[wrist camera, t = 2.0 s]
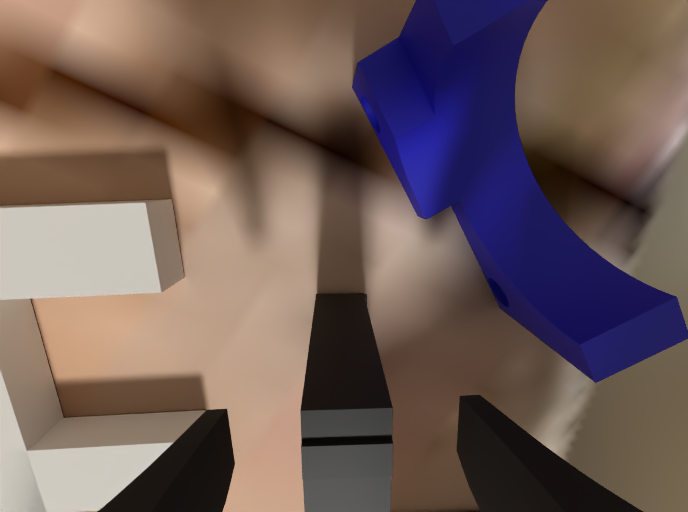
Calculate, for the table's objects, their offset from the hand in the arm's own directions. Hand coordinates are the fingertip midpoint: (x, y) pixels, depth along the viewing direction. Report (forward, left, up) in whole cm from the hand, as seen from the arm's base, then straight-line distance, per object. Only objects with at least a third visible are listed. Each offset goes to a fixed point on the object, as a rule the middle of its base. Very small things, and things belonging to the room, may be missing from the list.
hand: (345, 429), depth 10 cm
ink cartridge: (0, 0, -6) cm, 6 cm away
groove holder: (0, +12, -6) cm, 13 cm away
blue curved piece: (+7, -6, -6) cm, 11 cm away
